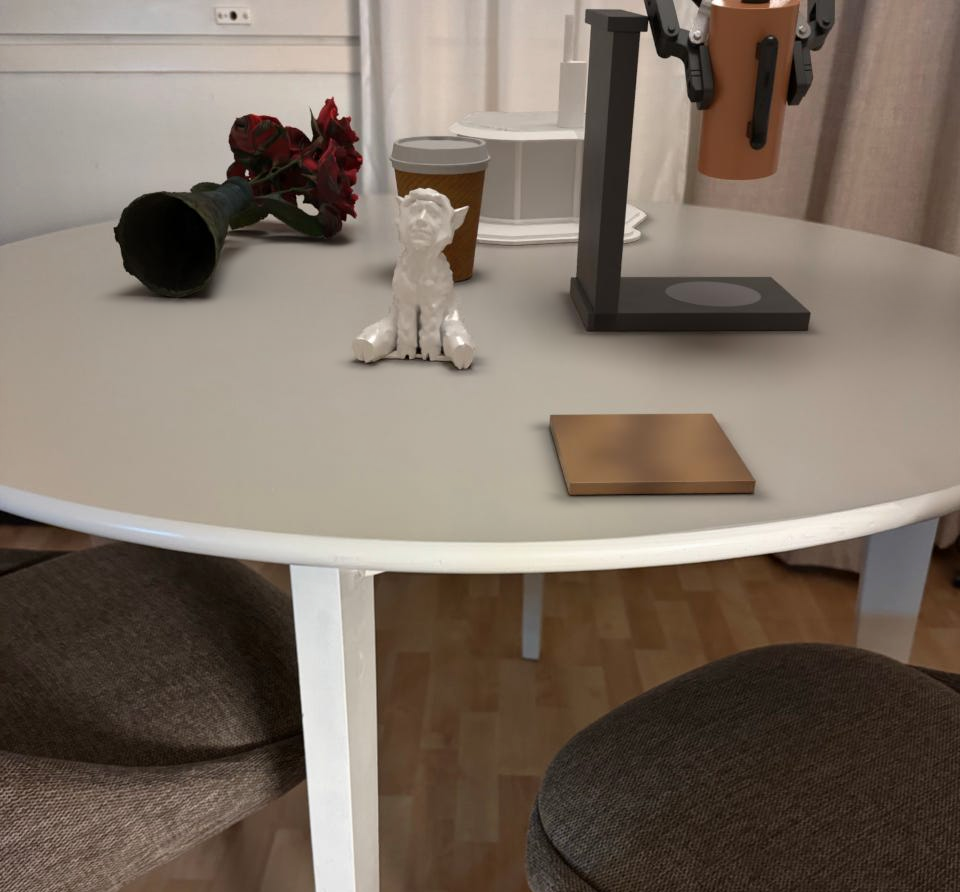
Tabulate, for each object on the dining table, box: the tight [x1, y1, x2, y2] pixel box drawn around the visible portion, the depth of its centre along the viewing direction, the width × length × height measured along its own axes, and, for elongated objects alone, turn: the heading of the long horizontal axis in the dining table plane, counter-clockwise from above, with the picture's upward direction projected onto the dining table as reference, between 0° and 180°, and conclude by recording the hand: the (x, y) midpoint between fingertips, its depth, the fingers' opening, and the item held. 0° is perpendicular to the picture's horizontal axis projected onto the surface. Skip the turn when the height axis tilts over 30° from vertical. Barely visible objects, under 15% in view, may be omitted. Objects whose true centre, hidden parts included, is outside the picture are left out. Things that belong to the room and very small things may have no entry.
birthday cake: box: [447, 14, 647, 246], centre depth 122 cm, size 30×29×22 cm
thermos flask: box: [696, 0, 801, 181], centre depth 76 cm, size 6×8×12 cm
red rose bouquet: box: [113, 95, 364, 299], centre depth 108 cm, size 16×18×35 cm
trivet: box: [548, 413, 757, 496], centre depth 67 cm, size 11×11×1 cm
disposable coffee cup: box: [388, 135, 491, 282], centre depth 102 cm, size 10×10×12 cm
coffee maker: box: [569, 8, 812, 332], centre depth 89 cm, size 19×12×23 cm, turn 93°
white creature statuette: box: [351, 188, 477, 370], centre depth 82 cm, size 10×9×12 cm
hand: (751, 100), depth 76 cm, fingers closed on thermos flask, 6 cm apart
